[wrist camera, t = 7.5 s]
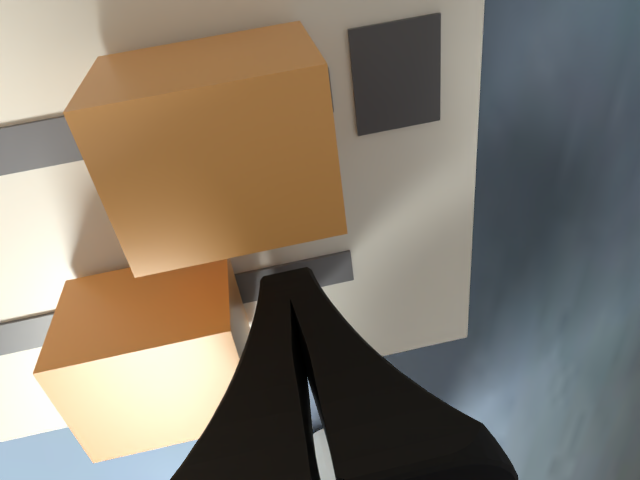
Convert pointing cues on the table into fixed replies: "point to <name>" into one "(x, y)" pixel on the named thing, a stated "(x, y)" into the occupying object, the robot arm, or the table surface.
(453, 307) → the switch board
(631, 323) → the table surface
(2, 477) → the table surface
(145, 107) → the tab middle
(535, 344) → the table surface
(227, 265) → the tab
